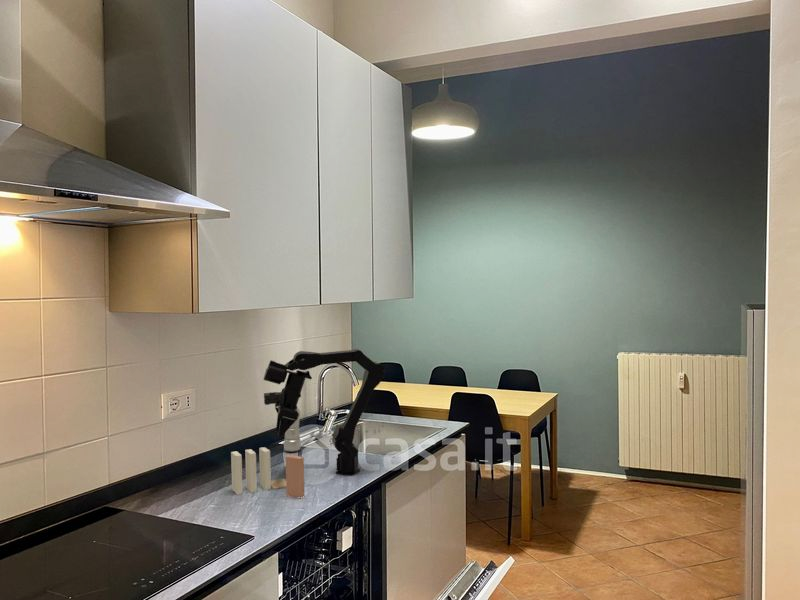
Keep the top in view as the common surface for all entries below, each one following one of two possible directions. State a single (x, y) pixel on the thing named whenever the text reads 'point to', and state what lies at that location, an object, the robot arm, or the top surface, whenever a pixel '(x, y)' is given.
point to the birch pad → (278, 483)
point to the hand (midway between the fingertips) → (278, 433)
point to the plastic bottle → (293, 436)
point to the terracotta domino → (295, 476)
